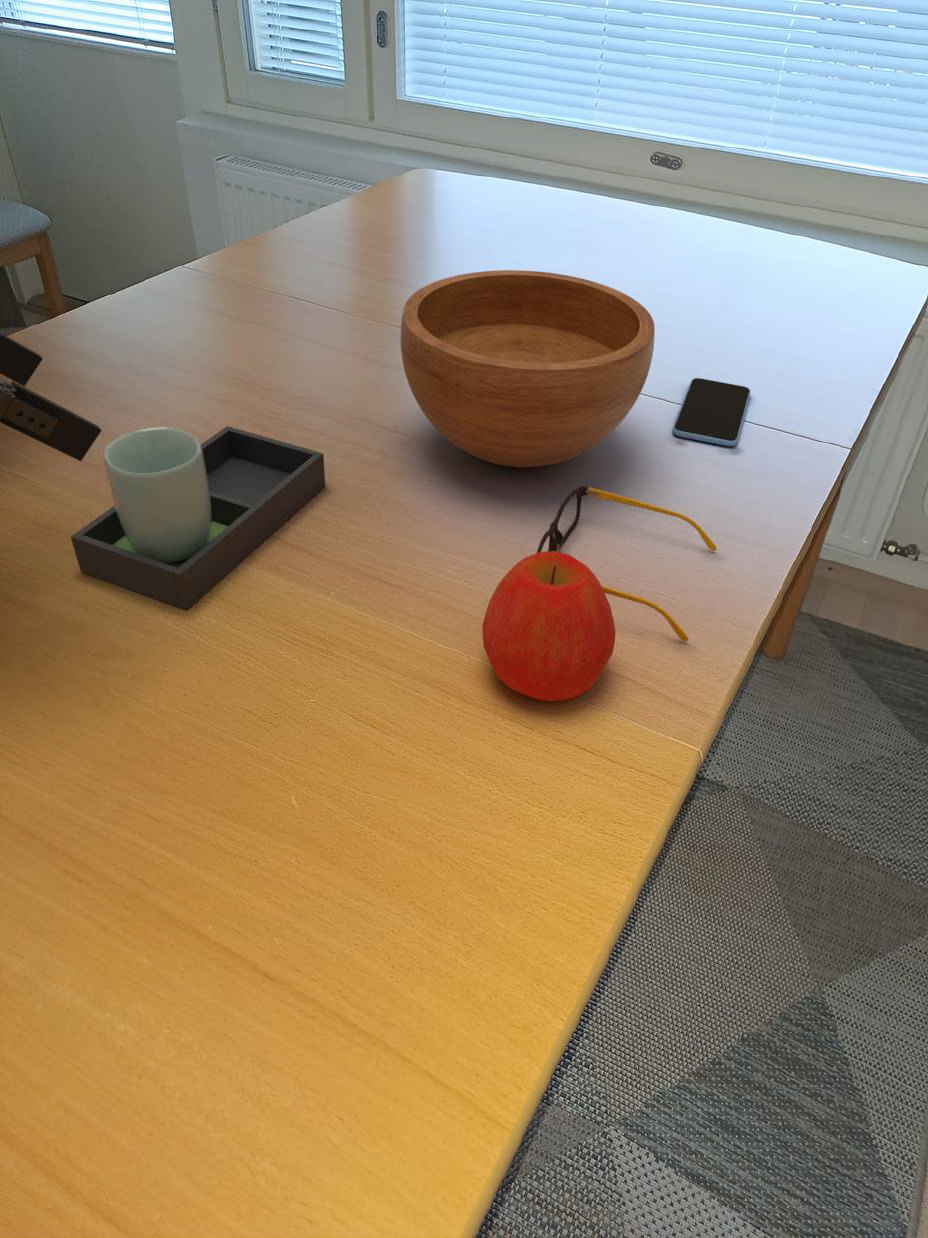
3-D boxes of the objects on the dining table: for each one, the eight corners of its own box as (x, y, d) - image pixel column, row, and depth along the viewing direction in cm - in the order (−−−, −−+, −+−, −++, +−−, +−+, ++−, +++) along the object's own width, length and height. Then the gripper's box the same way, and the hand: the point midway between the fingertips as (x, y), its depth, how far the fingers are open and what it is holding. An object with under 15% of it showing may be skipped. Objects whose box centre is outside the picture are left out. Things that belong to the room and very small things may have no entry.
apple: (474, 628, 76) (480, 524, 69) (595, 626, 77) (613, 523, 70) (484, 717, 68) (493, 610, 62) (619, 714, 69) (642, 608, 62)
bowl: (355, 438, 100) (349, 301, 90) (522, 378, 112) (533, 253, 103) (508, 545, 85) (521, 397, 76) (680, 463, 98) (710, 327, 88)
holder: (80, 572, 80) (70, 536, 77) (231, 458, 95) (227, 425, 93) (187, 610, 76) (179, 574, 74) (325, 486, 92) (323, 453, 89)
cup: (191, 514, 85) (173, 417, 79) (234, 553, 81) (218, 454, 75) (112, 544, 81) (86, 444, 75) (152, 586, 77) (129, 485, 71)
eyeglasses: (568, 515, 90) (573, 480, 87) (715, 551, 86) (725, 516, 83) (522, 599, 79) (525, 562, 77) (686, 644, 76) (696, 607, 73)
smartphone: (752, 386, 111) (737, 442, 100) (750, 393, 112) (736, 449, 101) (691, 375, 113) (671, 428, 102) (690, 381, 113) (669, 435, 102)
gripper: (-210, 238, 44) (149, 434, 61) (-263, 125, 59) (36, 307, 76) (-287, 366, 45) (87, 524, 62) (-320, 223, 60) (-12, 381, 77)
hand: (59, 405), depth 69 cm, fingers open, 13 cm apart
